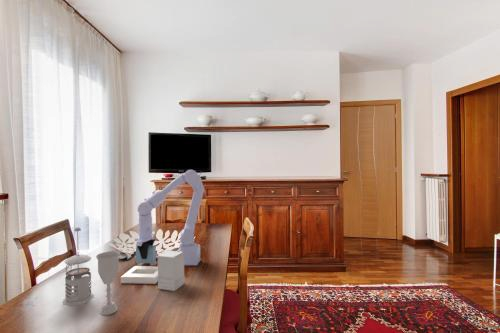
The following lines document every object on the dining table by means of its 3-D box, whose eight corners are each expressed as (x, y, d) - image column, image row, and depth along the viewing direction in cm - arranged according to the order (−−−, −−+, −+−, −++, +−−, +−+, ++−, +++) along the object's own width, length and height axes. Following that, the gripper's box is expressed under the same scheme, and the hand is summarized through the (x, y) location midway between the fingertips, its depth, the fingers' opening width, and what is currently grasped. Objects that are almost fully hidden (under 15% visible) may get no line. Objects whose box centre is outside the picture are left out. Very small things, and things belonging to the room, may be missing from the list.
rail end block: (155, 260, 134) (155, 245, 134) (153, 263, 130) (152, 247, 130) (139, 260, 134) (138, 245, 134) (135, 263, 131) (135, 247, 131)
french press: (70, 308, 94) (69, 232, 93) (53, 299, 100) (52, 228, 100) (100, 296, 102) (99, 226, 102) (82, 289, 108) (81, 222, 108)
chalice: (102, 305, 95) (102, 251, 95) (123, 304, 96) (123, 250, 96) (92, 317, 88) (91, 258, 88) (115, 316, 89) (114, 258, 88)
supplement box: (185, 283, 112) (184, 251, 112) (174, 291, 105) (173, 257, 105) (168, 281, 115) (168, 249, 115) (157, 288, 108) (156, 255, 108)
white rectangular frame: (166, 272, 125) (166, 266, 125) (155, 283, 113) (155, 277, 113) (134, 271, 125) (134, 266, 125) (120, 283, 113) (120, 276, 113)
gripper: (143, 224, 140) (144, 252, 140) (129, 231, 125) (130, 262, 125) (158, 224, 139) (158, 252, 139) (145, 231, 125) (145, 262, 125)
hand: (146, 257), depth 132 cm, fingers closed on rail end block, 3 cm apart
